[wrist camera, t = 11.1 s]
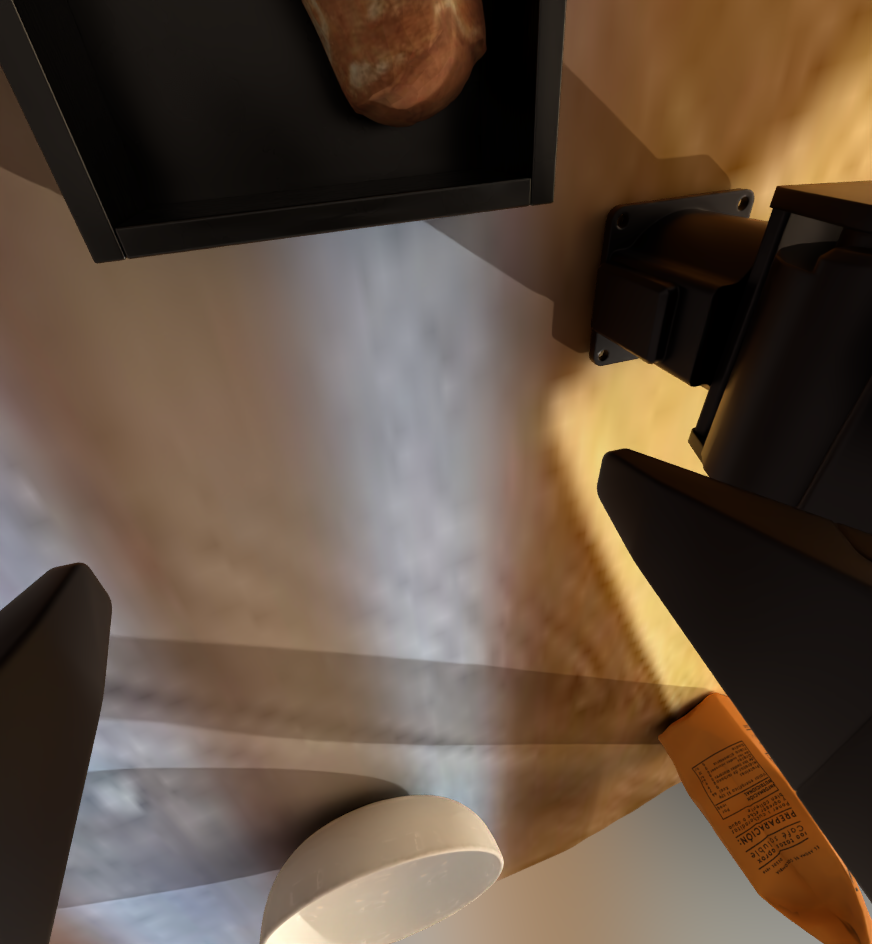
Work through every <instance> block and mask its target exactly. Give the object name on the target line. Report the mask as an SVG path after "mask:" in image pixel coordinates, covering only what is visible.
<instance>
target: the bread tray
mask: <svg viewBox="0 0 872 944" xmlns="http://www.w3.org/2000/svg"><path fill="white" fill-rule="evenodd" d="M566 3H567V0H482V4H483V12H484V20H485V29H486V46H487V51H486V52H485V54H484V55H483V56H482V57H481V58H480V59H479V60H478V61H477V62H476V63H475V65H474V66H473V68H472V71H471V74H470V77H469V79H468V80H467V82H466V83H465V85H464V87H463V89H462V91H461V93H460V94H459V95H458V96H457V98H456V99H455V100H454V101H452V102H451V103H450V104H449V105H448V106H447V107H446V108H444V109H443V110H442V111H440V112H439V113H437V114H436V115H434V116H433V117H431V118H429V119H426V120H424V121H420V122H417V123H415V124H414V125H412V126H408V127H393V126H388V125H383V124H380V123H377V122H375V121H373V120H371V119H369V118H367V117H366V116H364V115H361V114H358V113H356V112H355V111H354V110H353V108H352V107H351V105H350V103H349V101H348V100H347V98H346V96H345V94H344V93H343V91H342V89H341V86H340V84H339V82H338V80H337V77H336V75H335V73H334V71H333V68H332V66H331V63H330V61H329V59H328V56H327V54H326V52H325V49H324V47H323V45H322V42H321V40H320V38H319V36H318V33H317V31H316V29H315V26H314V24H313V22H312V20H311V18H310V16H309V15H308V13H307V11H306V9H305V7H304V5H303V3H302V1H301V0H0V65H1V67H2V69H3V71H4V73H5V75H6V77H7V79H8V81H9V84H10V86H11V88H12V90H13V92H14V94H15V96H16V98H17V100H18V102H19V105H20V107H21V109H22V111H23V113H24V115H25V117H26V119H27V121H28V123H29V126H30V128H31V130H32V132H33V134H34V136H35V138H36V140H37V142H38V145H39V147H40V149H41V151H42V153H43V155H44V157H45V159H46V161H47V163H48V166H49V168H50V170H51V172H52V174H53V176H54V178H55V180H56V182H57V184H58V187H59V189H60V191H61V193H62V195H63V197H64V199H65V201H66V203H67V205H68V208H69V210H70V212H71V214H72V216H73V218H74V220H75V222H76V224H77V226H78V229H79V231H80V233H81V235H82V237H83V239H84V241H85V243H86V245H87V247H88V250H89V252H90V254H91V256H92V258H93V260H94V262H95V263H104V262H112V261H119V260H125V259H126V258H129V259H133V258H141V257H148V256H156V255H163V254H171V253H178V252H186V251H193V250H201V249H209V248H216V247H224V246H231V245H239V244H246V243H254V242H261V241H269V240H277V239H284V238H292V237H299V236H307V235H314V234H322V233H329V232H337V231H344V230H352V229H360V228H367V227H375V226H382V225H390V224H397V223H405V222H412V221H420V220H428V219H435V218H443V217H450V216H458V215H465V214H473V213H480V212H488V211H496V210H503V209H511V208H518V207H526V206H529V205H532V206H534V205H542V204H549V203H552V202H553V201H554V187H555V172H556V156H557V141H558V126H559V110H560V95H561V80H562V65H563V49H564V34H565V19H566Z"/></svg>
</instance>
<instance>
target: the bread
mask: <svg viewBox="0 0 872 944" xmlns="http://www.w3.org/2000/svg"><path fill="white" fill-rule="evenodd" d="M301 1H302V3H303V5H304V7H305V9H306V11H307V13H308V15H309V16H310V18H311V20H312V22H313V24H314V26H315V29H316V31H317V33H318V36H319V38H320V40H321V42H322V45H323V47H324V49H325V52H326V54H327V56H328V59H329V61H330V63H331V66H332V68H333V71H334V73H335V75H336V77H337V80H338V82H339V84H340V86H341V89H342V91H343V93H344V94H345V96H346V98H347V100H348V101H349V103H350V105H351V107H352V108H353V110H354V111H355V112H356V113H358V114H361V115H364V116H366V117H367V118H369V119H371V120H373V121H375V122H377V123H380V124H383V125H388V126H393V127H408V126H412V125H414V124H415V123H417V122H420V121H424V120H426V119H429V118H431V117H433V116H434V115H436V114H437V113H439V112H440V111H442V110H443V109H444V108H446V107H447V106H448V105H449V104H450V103H451V102H452V101H454V100H455V99H456V98H457V96H458V95H459V94H460V93H461V91H462V89H463V87H464V85H465V83H466V82H467V80H468V79H469V77H470V74H471V71H472V68H473V66H474V65H475V63H476V62H477V61H478V60H479V59H480V58H481V57H482V56H483V55H484V54H485V52H486V51H487V46H486V29H485V20H484V12H483V4H482V0H301Z"/></svg>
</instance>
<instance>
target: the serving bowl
mask: <svg viewBox="0 0 872 944" xmlns="http://www.w3.org/2000/svg"><path fill="white" fill-rule="evenodd" d="M503 864H504V863H503V857H502V854H501V852H500V850H499V848H498V846H497V844H496V842H495V840H494V838H493V836H492V834H491V833H490V831H489V829H488V828H487V826H486V825H485V824H484V822H483V821H482V820H481V819H480V818H479V817H478V816H477V815H476V814H475V813H474V812H473V811H472V810H470V809H469V808H468V807H466V806H464V805H463V804H461V803H459V802H457V801H454V800H451V799H448V798H445V797H440V796H434V795H411V796H402V797H396V798H391V799H386V800H381V801H377V802H374V803H371V804H368V805H365V806H363V807H360V808H358V809H356V810H353V811H351V812H349V813H347V814H345V815H343V816H341V817H339V818H337V819H335V820H333V821H331V822H330V823H328V824H326V825H325V826H323V827H322V828H320V829H319V830H318V831H316V832H315V833H314V834H312V835H311V836H310V837H309V838H307V839H306V840H305V841H304V842H303V843H302V844H301V845H300V846H299V847H298V848H297V849H296V850H295V851H294V852H293V853H292V855H291V856H290V857H289V858H288V860H287V861H286V863H285V864H284V865H283V867H282V868H281V870H280V872H279V874H278V875H277V877H276V879H275V881H274V883H273V886H272V888H271V890H270V893H269V896H268V899H267V902H266V906H265V910H264V914H263V920H262V927H261V935H260V944H391V943H393V942H396V941H399V940H401V939H403V938H406V937H408V936H411V935H413V934H415V933H417V932H419V931H421V930H424V929H426V928H428V927H430V926H432V925H434V924H436V923H438V922H440V921H442V920H444V919H445V918H447V917H449V916H451V915H453V914H454V913H456V912H457V911H459V910H460V909H462V908H463V907H465V906H466V905H468V904H469V903H471V902H472V901H474V900H475V899H476V898H477V897H479V896H480V895H481V894H482V893H483V892H485V891H486V890H487V889H488V888H489V887H490V886H491V885H492V884H493V883H494V882H495V881H496V880H497V878H498V877H499V875H500V873H501V871H502V869H503Z"/></svg>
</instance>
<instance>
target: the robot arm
mask: <svg viewBox="0 0 872 944" xmlns="http://www.w3.org/2000/svg"><path fill="white" fill-rule="evenodd" d="M740 200H741V203H740V205H739V206H738V203H739V201H740ZM753 203H754V193H753V192H752V191H751V190H748V189H740V188H739V189H732V190H725V191H717V192H710V193H703V194H695V195H688V196H681V197H674V198H666V199H659V200H652V201H644V202H637V203H630V204H622V205H618V206H615V207H614V208H613V209H612V210H611V211H610V212H609V214H608V215H607V219H606V224H605V232H604V240H603V248H602V256H601V264H600V267H599V269H598V274H597V282H596V290H595V298H594V306H593V314H592V322H591V327H592V335H591V343H590V351H589V358H590V360H591V361H592V362H593V363H595V364H596V365H598V366H603V365H608V364H613V363H618V362H623V361H628V360H633V359H638V358H640V359H642V360H643V361H645V362H646V363H648V364H655V365H657V366H658V367H660V368H662V369H663V370H665V371H667V372H668V373H670V374H672V375H673V376H675V377H677V378H678V379H680V380H682V381H683V382H685V383H687V384H688V385H690V386H693V387H695V386H702V387H704V388H705V389H707V390H709V391H708V394H707V397H706V400H705V403H704V405H703V408H702V411H701V414H700V417H699V420H698V422H697V425H696V427H695V428H693V429H692V431H691V434H690V437H689V440H688V443H689V444H690V446H691V447H692V449H693V450H694V452H695V453H696V455H697V456H698V458H699V459H700V461H701V462H702V464H703V468H704V470H705V471H706V473H707V474H708V475H709V477H707V476H704V475H701V474H698V473H696V472H693V471H690V470H687V469H684V468H681V467H679V466H676V465H673V464H670V463H667V462H664V461H661V460H659V459H656V458H653V457H650V456H647V455H644V454H642V453H639V452H636V451H633V450H630V449H619V450H614V451H609V452H607V453H606V454H605V455H604V456H603V459H602V464H601V469H600V474H599V478H598V483H597V492H598V496H599V498H600V500H601V502H602V504H603V506H604V508H605V510H606V511H607V513H608V515H609V517H610V519H611V520H612V522H613V524H614V526H615V528H616V530H617V531H618V533H619V535H620V537H621V539H622V541H623V542H624V544H625V546H626V548H627V550H628V551H629V553H630V555H631V556H632V558H633V560H634V561H635V563H636V565H637V566H638V568H639V569H640V571H641V572H642V574H643V575H644V576H645V578H646V579H647V581H648V582H649V584H650V585H651V586H652V588H653V589H654V591H655V592H656V594H657V595H658V596H659V598H660V599H661V601H662V602H663V604H664V605H665V607H666V608H667V609H668V611H669V612H670V614H671V615H672V617H673V618H674V619H675V621H676V622H677V624H678V625H679V627H680V628H681V630H682V631H683V632H684V634H685V635H686V637H687V638H688V640H689V641H690V642H691V644H692V645H693V647H694V648H695V650H696V651H697V652H698V654H699V655H700V657H701V658H702V660H703V661H704V663H705V664H706V665H707V667H708V668H709V670H710V671H711V673H712V674H713V675H714V677H715V678H716V680H717V681H718V683H719V684H720V686H721V687H722V688H723V690H724V691H725V693H726V694H727V696H728V697H729V698H730V700H731V701H732V703H733V704H734V706H735V707H736V708H737V710H738V711H739V713H740V714H741V716H742V717H743V719H744V720H745V721H746V723H747V724H748V726H749V727H750V729H751V730H752V731H753V733H754V734H755V736H756V737H757V739H758V740H759V741H760V743H761V744H762V746H763V747H764V749H765V750H766V752H767V753H768V754H769V756H770V757H771V759H772V760H773V762H774V763H775V764H776V766H777V767H778V769H779V770H780V772H781V773H782V775H783V776H784V777H785V779H786V780H787V782H788V783H789V785H790V786H791V787H792V789H793V790H794V791H796V795H797V797H798V798H799V799H800V801H801V802H802V804H803V805H804V807H805V808H806V810H807V811H808V812H809V814H810V815H811V817H812V818H813V820H814V821H815V822H816V824H817V825H818V827H819V828H820V830H821V831H822V832H823V834H824V835H825V837H826V838H827V840H828V841H829V843H830V844H831V845H832V847H833V848H834V850H835V851H836V853H837V854H838V855H839V857H840V858H841V860H842V861H843V863H844V864H845V865H846V867H847V868H848V870H849V871H850V873H851V874H852V875H853V877H854V878H855V880H856V881H857V883H858V884H859V886H860V887H861V888H862V890H863V891H864V893H865V894H866V896H867V897H868V898H869V900H870V901H871V903H872V181H856V182H838V183H820V184H802V185H784V186H777V187H776V190H775V193H774V196H773V199H772V202H771V204H770V207H771V208H773V210H772V213H771V216H770V218H769V221H768V222H767V221H762V220H756V219H750V218H749V216H750V213H751V210H752V206H753ZM622 214H623V221H622V223H621V224H620V225H619V226H618V225H617V221H618V218H619V217H620V216H621V215H622ZM603 350H604V352H603V354H602V356H601V357H599V354H600V353H601V352H602V351H603ZM111 615H112V604H111V600H110V597H109V595H108V594H107V592H106V591H105V589H104V588H103V586H102V585H101V583H100V582H99V581H98V579H97V578H96V576H95V575H94V573H93V572H92V570H91V569H90V568H89V567H88V566H87V565H86V564H84V563H73V564H68V565H64V566H59V567H55V568H52V569H50V570H49V571H47V572H46V573H45V574H44V575H42V576H41V577H40V578H39V579H38V580H37V581H35V582H34V583H33V584H32V585H31V586H29V587H28V588H27V589H26V590H25V591H23V592H22V593H21V594H20V595H19V596H17V597H16V598H15V599H14V600H13V601H11V602H10V603H9V604H8V605H7V606H5V607H4V608H3V609H2V610H1V611H0V944H49V941H50V936H51V932H52V927H53V923H54V918H55V914H56V909H57V905H58V901H59V896H60V892H61V887H62V883H63V878H64V874H65V869H66V865H67V860H68V856H69V851H70V847H71V842H72V838H73V833H74V829H75V824H76V820H77V815H78V811H79V806H80V802H81V797H82V793H83V788H84V784H85V780H86V775H87V771H88V766H89V762H90V757H91V753H92V748H93V744H94V739H95V735H96V730H97V726H98V721H99V717H100V712H101V706H102V701H103V694H104V686H105V676H106V666H107V656H108V646H109V635H110V625H111Z"/></svg>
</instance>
